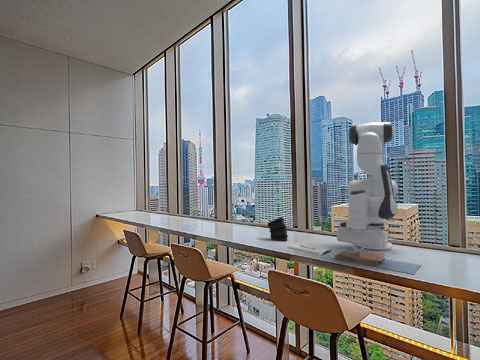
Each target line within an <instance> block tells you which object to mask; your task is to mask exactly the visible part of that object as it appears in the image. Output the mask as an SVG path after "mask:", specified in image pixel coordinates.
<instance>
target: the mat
mask: <svg viewBox="0 0 480 360" xmlns="http://www.w3.org/2000/svg"><path fill="white" fill-rule="evenodd" d="M421 267H422V264H419V263H417V264H416V263H411V262H410V263H409V262H405V261H399V260H393V259H385V260H384V261H383V262H381V263H380V264H378V265H377V266H375V268H377V269H383V270H388V271H392V272H397V273H403V274H407V275H413V276H414V274H416V272H418V270H419V269H420V268H421Z"/></svg>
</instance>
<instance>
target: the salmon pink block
mask: <svg viewBox="0 0 480 360" xmlns="http://www.w3.org/2000/svg"><path fill="white" fill-rule="evenodd" d="M359 255H360V258H366V259H371V260H377V261H382V260H383V259H385V257H386V255H385V253H379V252H374V251H368V250H362V252H361V253H359ZM385 260H386V259H385Z"/></svg>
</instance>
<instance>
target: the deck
mask: <svg viewBox="0 0 480 360" xmlns="http://www.w3.org/2000/svg"><path fill="white" fill-rule="evenodd" d="M334 260H339V261H345V262H351V263H356V264H360V265H365V266H370V267H376V266H377V265H379V264H380V263H382V262H383V261H385V260H386V259H383V260H382V261H377V260H371V259H366V258H360V255H359V254H356V253H355V250H353V249H352V250H351V249H345V250H343V251H340V252H339V253H336V254H334Z"/></svg>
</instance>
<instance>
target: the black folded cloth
mask: <svg viewBox="0 0 480 360" xmlns="http://www.w3.org/2000/svg"><path fill="white" fill-rule="evenodd" d="M267 227H268V228H269V233H270V236H269V237H270V239H271V240H272V241H279V242H287V241H288V237H289V234H288V230H287V225H286V223H285V218H284V217H283V216H280V217H278V218H276V219H274V220H272V221H269V222H267Z"/></svg>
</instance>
